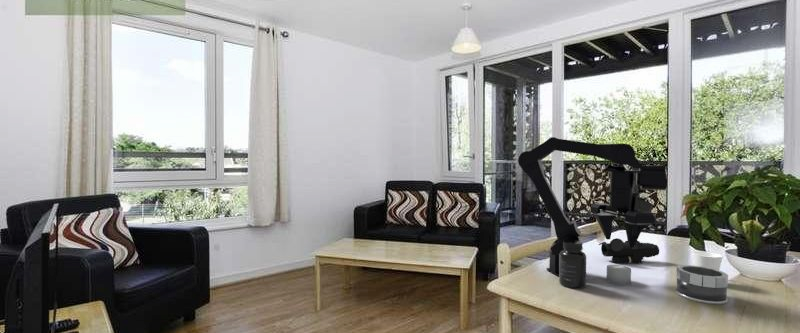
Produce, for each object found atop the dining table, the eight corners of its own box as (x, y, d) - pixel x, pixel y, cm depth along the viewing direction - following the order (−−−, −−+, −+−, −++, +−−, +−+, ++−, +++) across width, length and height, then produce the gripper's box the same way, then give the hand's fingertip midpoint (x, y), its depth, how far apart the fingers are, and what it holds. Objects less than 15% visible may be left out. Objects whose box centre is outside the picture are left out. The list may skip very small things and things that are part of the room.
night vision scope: (654, 268, 129) (670, 255, 121) (601, 268, 129) (612, 255, 122) (646, 246, 134) (660, 233, 126) (594, 246, 134) (605, 233, 126)
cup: (686, 280, 109) (687, 252, 109) (699, 274, 115) (700, 248, 114) (716, 288, 103) (717, 258, 103) (729, 281, 109) (730, 253, 109)
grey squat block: (616, 285, 105) (616, 270, 105) (601, 278, 111) (602, 264, 111) (635, 284, 106) (636, 269, 106) (620, 277, 112) (620, 263, 111)
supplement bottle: (564, 278, 110) (565, 237, 109) (589, 285, 105) (590, 242, 104) (554, 284, 105) (555, 241, 104) (580, 291, 100) (581, 246, 100)
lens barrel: (702, 305, 91) (703, 278, 91) (665, 289, 102) (666, 265, 101) (739, 303, 93) (740, 277, 93) (699, 288, 103) (700, 264, 103)
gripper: (675, 191, 99) (672, 251, 100) (622, 185, 118) (621, 235, 118) (637, 192, 97) (634, 252, 98) (590, 185, 116) (588, 235, 117)
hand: (619, 243), depth 108 cm, fingers open, 9 cm apart
